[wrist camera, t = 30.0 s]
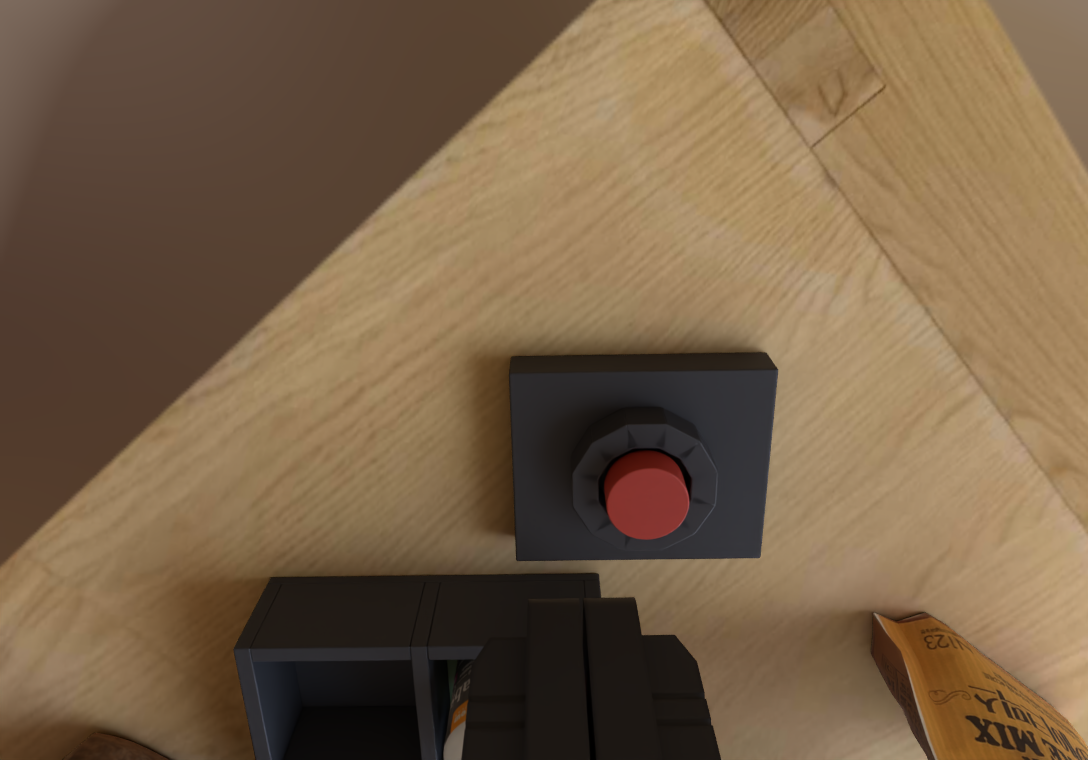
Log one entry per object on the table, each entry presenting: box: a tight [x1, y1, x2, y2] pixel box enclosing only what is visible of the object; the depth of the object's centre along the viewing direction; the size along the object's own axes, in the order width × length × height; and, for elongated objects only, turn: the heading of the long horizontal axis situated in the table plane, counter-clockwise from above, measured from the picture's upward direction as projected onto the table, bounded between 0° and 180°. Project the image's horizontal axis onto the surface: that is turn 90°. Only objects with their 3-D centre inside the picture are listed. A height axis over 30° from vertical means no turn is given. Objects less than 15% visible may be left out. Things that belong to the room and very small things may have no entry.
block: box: [509, 353, 778, 561], centre depth 39 cm, size 12×10×4 cm
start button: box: [604, 450, 689, 540], centre depth 36 cm, size 4×4×2 cm
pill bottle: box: [443, 659, 475, 760], centre depth 40 cm, size 6×6×10 cm
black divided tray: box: [233, 574, 601, 760], centre depth 44 cm, size 17×17×6 cm
